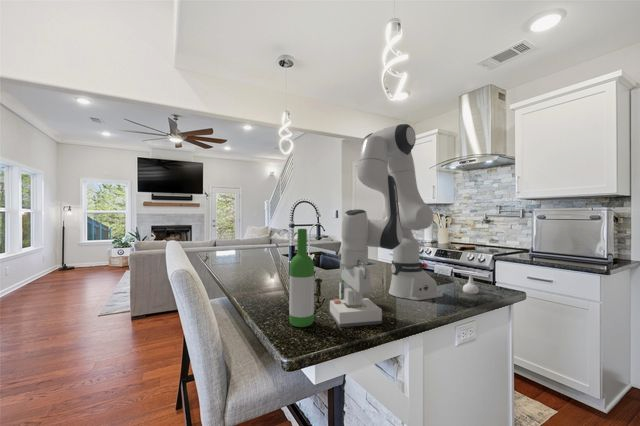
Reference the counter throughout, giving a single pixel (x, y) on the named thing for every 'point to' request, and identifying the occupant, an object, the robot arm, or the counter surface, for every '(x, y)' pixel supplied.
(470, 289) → the garlic bulb
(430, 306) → the counter surface
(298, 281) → the wine bottle
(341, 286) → the syrup box
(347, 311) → the socket block
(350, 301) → the plug
